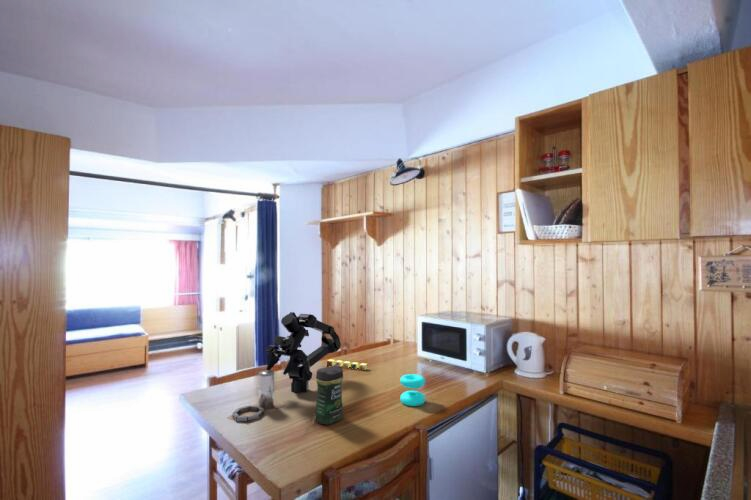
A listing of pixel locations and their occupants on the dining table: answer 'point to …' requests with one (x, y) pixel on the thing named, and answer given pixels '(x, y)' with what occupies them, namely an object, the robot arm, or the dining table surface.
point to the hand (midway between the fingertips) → (275, 372)
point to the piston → (266, 389)
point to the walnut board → (266, 412)
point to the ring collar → (247, 418)
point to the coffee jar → (329, 395)
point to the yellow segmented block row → (347, 364)
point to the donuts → (412, 396)
